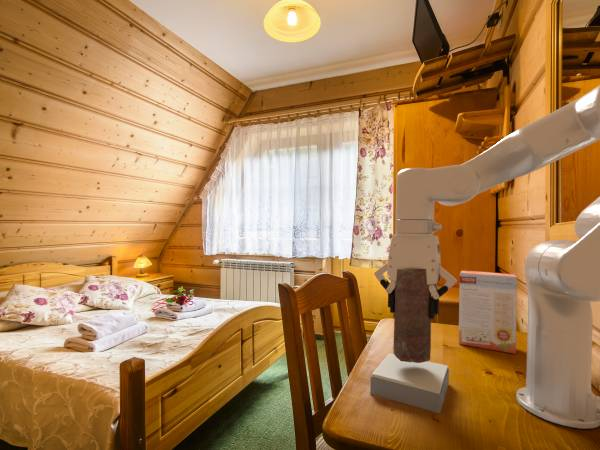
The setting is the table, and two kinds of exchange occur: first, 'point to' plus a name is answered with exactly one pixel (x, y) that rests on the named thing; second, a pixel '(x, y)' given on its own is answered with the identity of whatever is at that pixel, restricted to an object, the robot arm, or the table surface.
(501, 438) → the table surface
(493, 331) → the cracker box
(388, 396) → the podium
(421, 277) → the candle
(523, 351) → the table surface
